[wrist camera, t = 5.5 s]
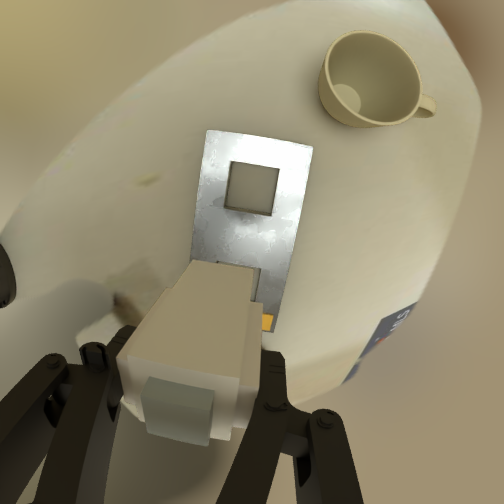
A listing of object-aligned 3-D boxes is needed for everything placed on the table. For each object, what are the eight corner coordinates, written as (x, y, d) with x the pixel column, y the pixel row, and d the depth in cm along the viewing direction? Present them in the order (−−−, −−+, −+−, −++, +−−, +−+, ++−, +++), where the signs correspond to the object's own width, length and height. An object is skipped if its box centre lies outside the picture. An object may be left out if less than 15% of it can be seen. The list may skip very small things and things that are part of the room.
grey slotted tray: (189, 309, 39) (185, 317, 37) (210, 131, 32) (206, 129, 29) (273, 324, 39) (273, 334, 37) (310, 147, 31) (313, 146, 29)
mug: (333, 155, 32) (365, 152, 20) (292, 84, 29) (303, 47, 18) (403, 122, 29) (456, 110, 18) (365, 55, 27) (402, 18, 16)
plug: (189, 312, 19) (132, 436, 9) (192, 259, 18) (115, 371, 8) (246, 321, 19) (227, 458, 9) (254, 268, 18) (237, 399, 8)
